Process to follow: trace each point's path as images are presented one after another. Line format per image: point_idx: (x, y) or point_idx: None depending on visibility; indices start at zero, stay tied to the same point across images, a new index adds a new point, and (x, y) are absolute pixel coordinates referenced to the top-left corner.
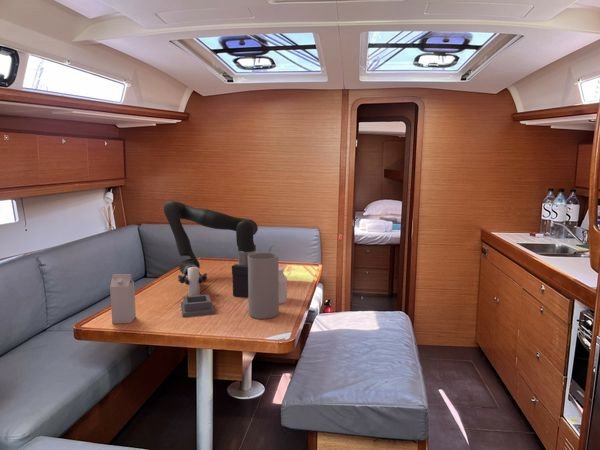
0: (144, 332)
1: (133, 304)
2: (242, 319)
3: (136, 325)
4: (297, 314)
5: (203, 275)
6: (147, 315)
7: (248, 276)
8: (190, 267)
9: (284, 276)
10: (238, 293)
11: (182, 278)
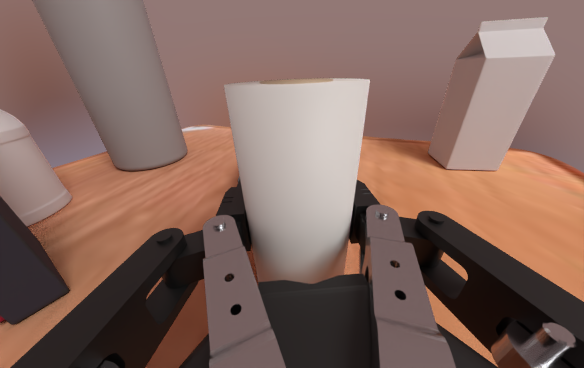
0: (373, 137)
1: (451, 126)
2: (207, 151)
3: (406, 149)
4: (100, 155)
5: (146, 275)
6: (420, 174)
7: (156, 59)
8: (342, 83)
9: None
10: (49, 261)
11: (422, 213)
